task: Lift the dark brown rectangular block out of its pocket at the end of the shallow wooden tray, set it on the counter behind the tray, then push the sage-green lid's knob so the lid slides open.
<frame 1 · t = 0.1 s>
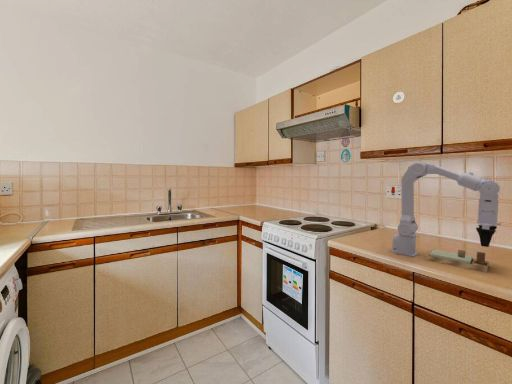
hand: (485, 244, 101), 10 cm above the worktop, fingers open, 7 cm apart
lid: (451, 253, 107), point 4 cm above the worktop, slide at 0.0 cm
shallow wooden tray: (455, 264, 106), on the worktop
dark brown rectangular block: (480, 267, 101), point 1 cm above the worktop, touching shallow wooden tray
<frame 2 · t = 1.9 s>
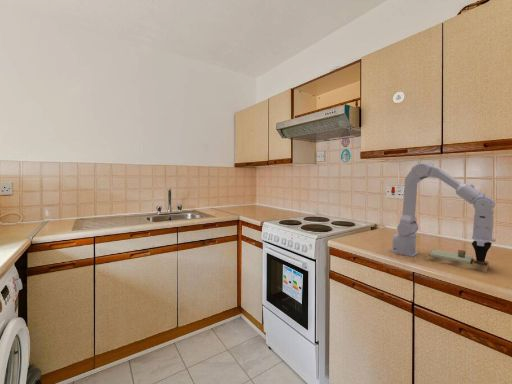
hand: (480, 260, 101), 4 cm above the worktop, fingers closed on dark brown rectangular block, 2 cm apart
dark brown rectangular block: (480, 267, 101), point 1 cm above the worktop, touching gripper, shallow wooden tray
everything else where it was.
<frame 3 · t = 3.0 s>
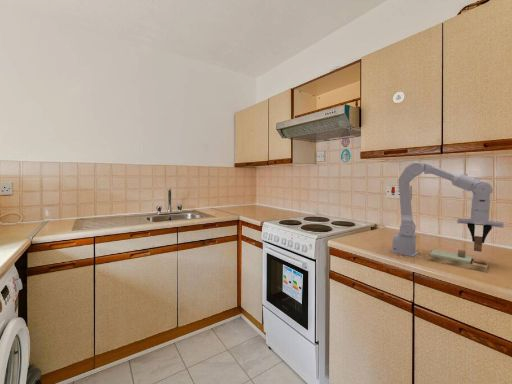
hand: (478, 241, 107), 9 cm above the worktop, fingers closed on dark brown rectangular block, 2 cm apart
dark brown rectangular block: (477, 250, 107), point 6 cm above the worktop, touching gripper
everything else where it was.
when the fingers open (4 cm above the worktop, at t = 4.3 s): dark brown rectangular block stays where it is, on the worktop.
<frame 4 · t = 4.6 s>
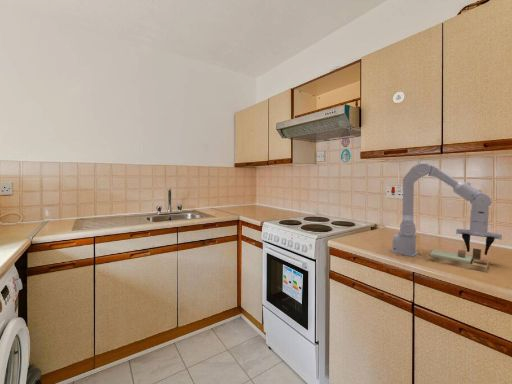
hand: (476, 252, 108), 4 cm above the worktop, fingers open, 5 cm apart
dark brown rectangular block: (476, 263, 108), on the worktop
everything else where it was.
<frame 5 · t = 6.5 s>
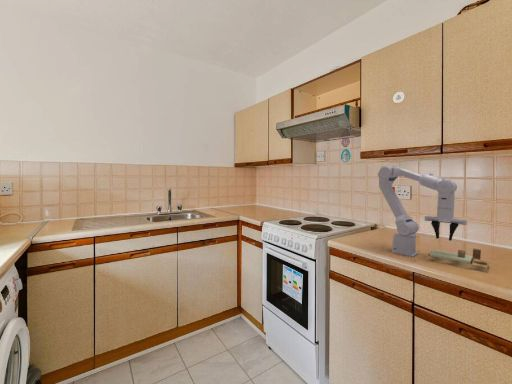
hand: (443, 239, 109), 10 cm above the worktop, fingers open, 4 cm apart
nothing on the worktop moved.
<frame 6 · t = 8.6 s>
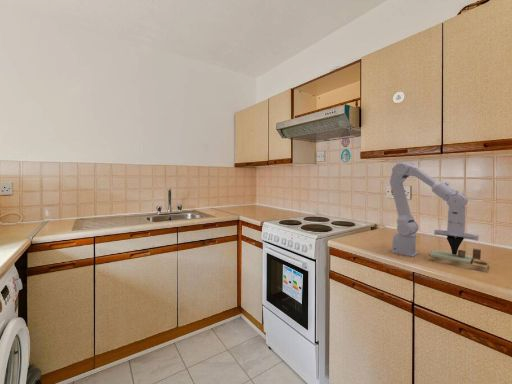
hand: (454, 254, 106), 4 cm above the worktop, fingers closed
lid: (451, 253, 107), point 4 cm above the worktop, slide at 0.0 cm, touching gripper
everything else where it was.
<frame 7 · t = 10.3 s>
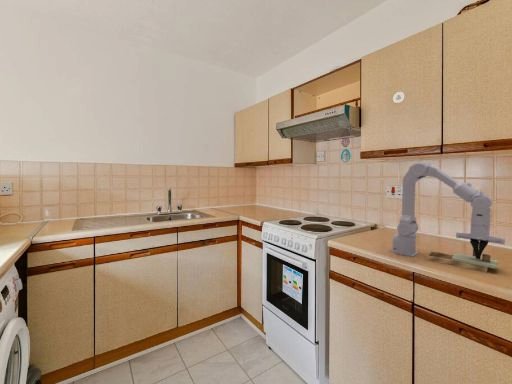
hand: (478, 258, 101), 4 cm above the worktop, fingers closed
lid: (474, 257, 102), point 4 cm above the worktop, slide at 7.6 cm, touching gripper
everything else where it was.
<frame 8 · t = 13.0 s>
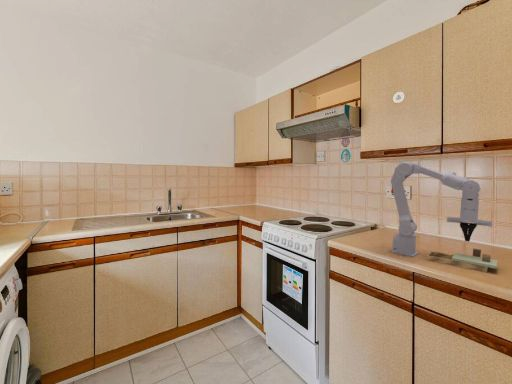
hand: (467, 240, 106), 10 cm above the worktop, fingers closed
lid: (474, 257, 102), point 4 cm above the worktop, slide at 7.6 cm
everything else where it was.
at the end: lid slide at 7.6 cm; dark brown rectangular block inside the target area (0.8 cm from its centre), on the worktop; the gripper is holding nothing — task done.
